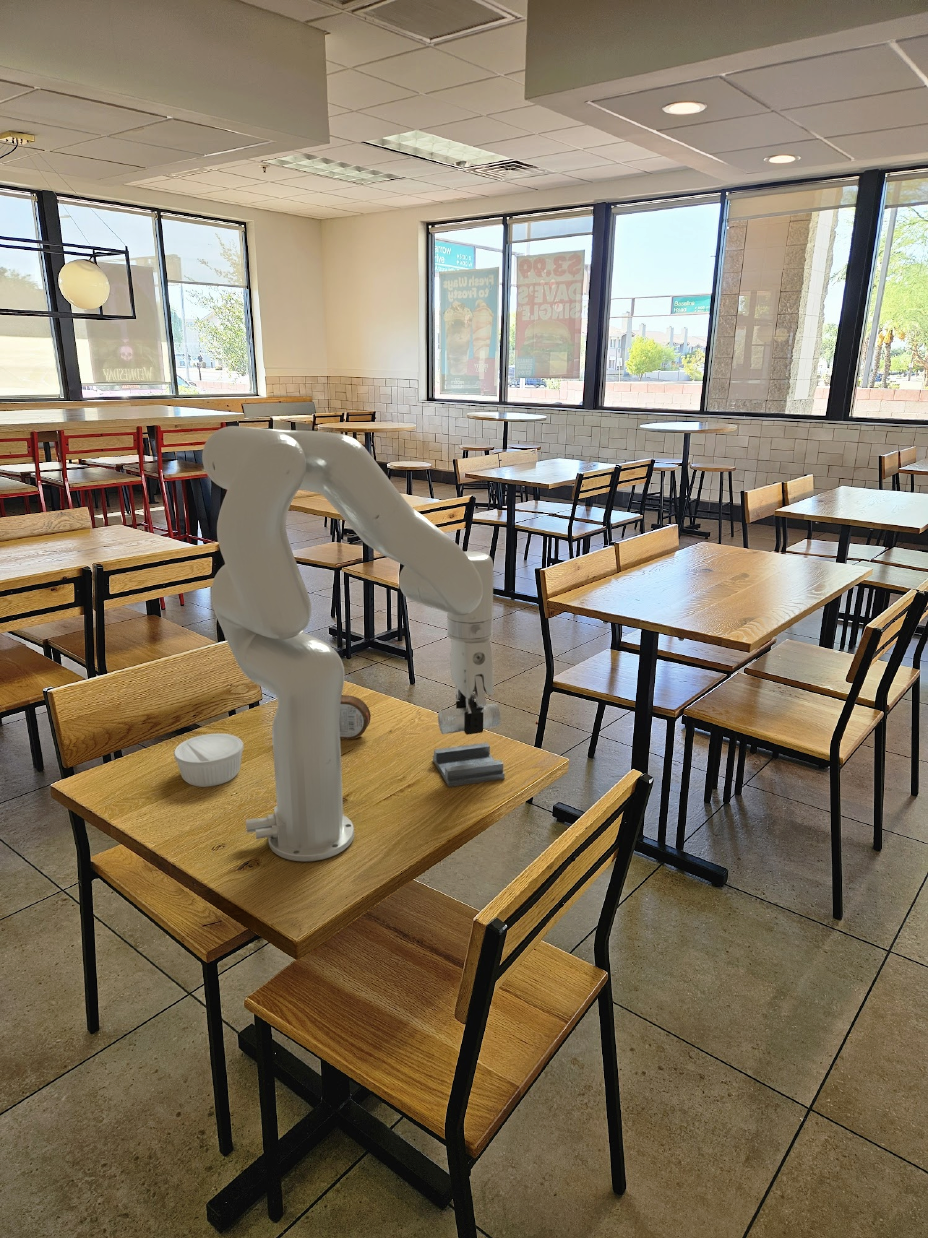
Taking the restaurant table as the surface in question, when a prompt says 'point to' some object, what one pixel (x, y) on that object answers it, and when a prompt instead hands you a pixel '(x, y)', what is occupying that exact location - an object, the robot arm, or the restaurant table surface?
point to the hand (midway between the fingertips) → (469, 726)
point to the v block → (467, 764)
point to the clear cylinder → (455, 719)
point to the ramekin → (209, 759)
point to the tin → (353, 717)
